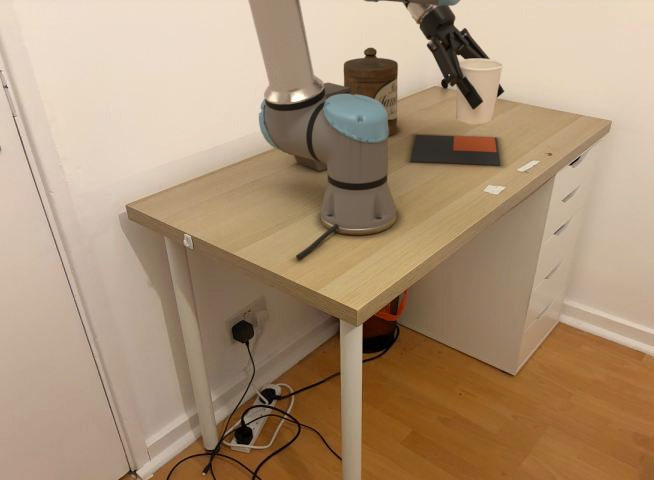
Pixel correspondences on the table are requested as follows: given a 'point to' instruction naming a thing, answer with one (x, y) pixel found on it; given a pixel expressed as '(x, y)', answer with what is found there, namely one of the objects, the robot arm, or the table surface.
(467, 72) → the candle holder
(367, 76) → the wooden container
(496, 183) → the table surface
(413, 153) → the desk mat
